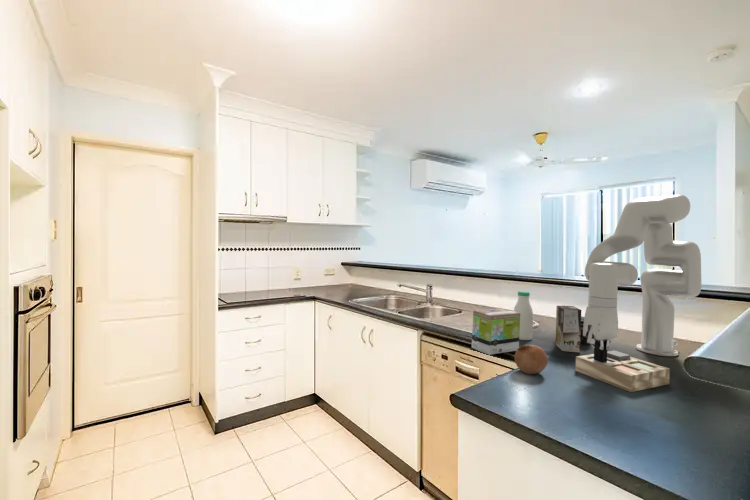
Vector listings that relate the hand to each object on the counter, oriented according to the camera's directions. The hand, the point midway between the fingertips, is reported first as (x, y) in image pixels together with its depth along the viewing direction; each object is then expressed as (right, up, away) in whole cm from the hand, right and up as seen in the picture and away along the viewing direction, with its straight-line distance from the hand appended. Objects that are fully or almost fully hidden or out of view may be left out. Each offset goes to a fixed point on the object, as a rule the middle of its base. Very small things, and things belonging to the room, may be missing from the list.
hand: (600, 360), depth 110 cm
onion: (-22, -4, +1) cm, 22 cm away
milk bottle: (-7, -3, +41) cm, 41 cm away
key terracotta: (+3, -3, -7) cm, 8 cm away
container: (+13, -4, +38) cm, 40 cm away
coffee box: (+4, -4, +27) cm, 28 cm away
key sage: (+10, -3, -4) cm, 11 cm away
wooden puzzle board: (+5, -4, -2) cm, 7 cm away
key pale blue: (0, -3, 0) cm, 3 cm away
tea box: (-25, -3, +24) cm, 35 cm away
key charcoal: (+7, -2, +3) cm, 8 cm away
